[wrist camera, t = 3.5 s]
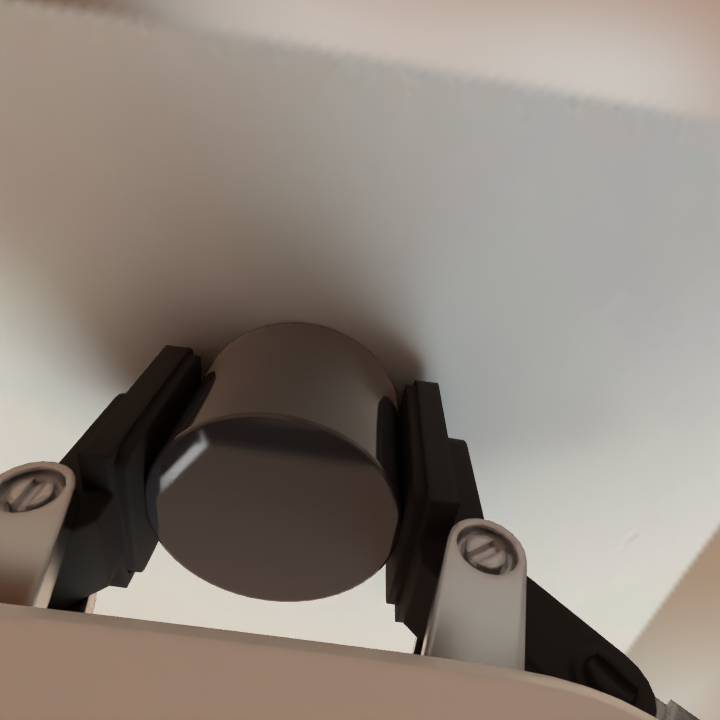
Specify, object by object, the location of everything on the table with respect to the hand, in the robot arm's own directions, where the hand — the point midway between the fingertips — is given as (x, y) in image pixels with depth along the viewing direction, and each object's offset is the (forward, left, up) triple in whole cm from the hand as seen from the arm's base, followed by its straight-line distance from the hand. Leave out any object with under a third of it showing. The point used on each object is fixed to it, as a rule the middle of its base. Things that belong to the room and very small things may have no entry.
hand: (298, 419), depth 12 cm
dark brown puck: (0, 0, 0) cm, 0 cm away
